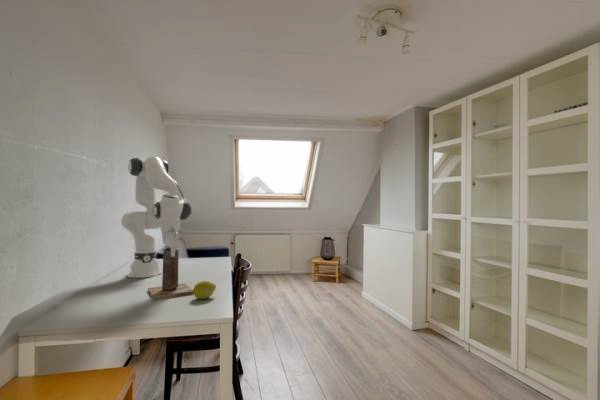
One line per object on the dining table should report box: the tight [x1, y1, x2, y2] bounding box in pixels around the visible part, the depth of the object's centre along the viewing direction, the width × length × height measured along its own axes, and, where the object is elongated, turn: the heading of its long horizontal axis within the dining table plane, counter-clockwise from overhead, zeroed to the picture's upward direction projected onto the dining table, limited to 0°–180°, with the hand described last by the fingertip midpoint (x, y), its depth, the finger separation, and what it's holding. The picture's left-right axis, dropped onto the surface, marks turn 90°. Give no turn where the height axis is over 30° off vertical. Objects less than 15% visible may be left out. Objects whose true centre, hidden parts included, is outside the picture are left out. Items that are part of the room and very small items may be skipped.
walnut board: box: [147, 282, 194, 301], centre depth 162 cm, size 18×18×2 cm
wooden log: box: [161, 247, 179, 290], centre depth 163 cm, size 8×7×20 cm
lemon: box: [192, 280, 217, 300], centre depth 152 cm, size 11×8×8 cm
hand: (170, 255), depth 162 cm, fingers open, 8 cm apart
